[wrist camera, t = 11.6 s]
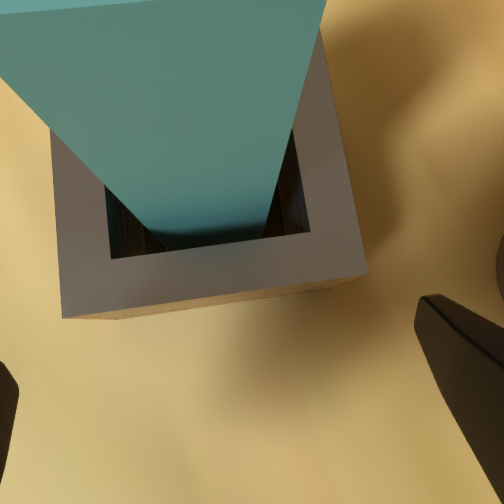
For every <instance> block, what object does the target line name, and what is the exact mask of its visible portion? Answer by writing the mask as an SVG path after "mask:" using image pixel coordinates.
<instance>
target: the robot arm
mask: <svg viewBox="0 0 504 504" xmlns="http://www.w3.org/2000/svg"><path fill="white" fill-rule="evenodd" d="M414 329H415V333H416V335H417V338H418V340H419V343H420V345H421V347H422V350H423V352H424V354H425V357H426V359H427V362H428V364H429V366H430V369H431V371H432V373H433V376H434V378H435V381H436V383H437V385H438V387H439V390H440V392H441V394H442V396H443V398H444V400H445V402H446V404H447V406H448V407H449V409H450V411H451V413H452V415H453V416H454V418H455V420H456V422H457V424H458V425H459V427H460V429H461V431H462V433H463V435H464V436H465V438H466V440H467V442H468V444H469V445H470V447H471V449H472V451H473V453H474V454H475V456H476V458H477V460H478V462H479V463H480V465H481V467H482V469H483V471H484V472H485V474H486V476H487V478H488V480H489V481H490V483H491V485H492V487H493V489H494V490H495V492H496V494H497V496H498V498H499V500H500V501H501V503H502V504H504V328H502V327H500V326H498V325H496V324H495V323H493V322H491V321H489V320H487V319H485V318H484V317H482V316H480V315H478V314H476V313H474V312H473V311H471V310H469V309H467V308H465V307H464V306H462V305H460V304H458V303H456V302H454V301H453V300H451V299H449V298H447V297H445V296H443V295H441V294H431V295H425V296H422V297H420V299H419V301H418V306H417V310H416V315H415V320H414ZM18 399H19V387H18V384H17V382H16V381H15V379H14V378H13V376H12V375H11V373H10V372H9V370H8V369H7V367H6V366H5V364H4V363H3V362H1V361H0V483H1V480H2V476H3V473H4V469H5V465H6V460H7V456H8V451H9V446H10V440H11V435H12V430H13V425H14V419H15V414H16V409H17V404H18Z"/></svg>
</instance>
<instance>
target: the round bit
mask: <svg viewBox="0 0 504 504" xmlns="http://www.w3.org/2000/svg"><path fill="white" fill-rule="evenodd" d="M496 272H497V281H498V285H499V289H500V292H501V295H502V298H503V300H504V236H503V238H502V240H501V243H500V246H499V249H498V254H497V260H496Z"/></svg>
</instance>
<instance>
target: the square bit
mask: <svg viewBox="0 0 504 504" xmlns="http://www.w3.org/2000/svg"><path fill="white" fill-rule="evenodd" d="M326 1H327V0H0V77H1V78H2V79H3V80H4V81H5V82H6V83H7V84H8V85H9V86H10V87H11V89H12V90H13V91H14V92H15V93H16V94H17V95H18V96H19V97H20V98H21V99H22V100H23V101H24V102H25V103H26V104H27V105H28V106H29V107H30V108H31V109H32V110H33V111H34V112H35V113H36V114H37V115H38V116H39V117H40V118H41V119H42V120H43V122H44V123H45V124H46V125H47V126H48V127H49V128H50V129H51V130H52V131H53V132H54V133H55V134H56V135H57V136H58V137H59V138H60V139H61V140H62V141H63V142H64V143H65V144H66V145H67V146H68V147H69V148H70V149H71V150H72V151H73V152H74V153H75V155H76V156H77V157H78V158H79V159H80V160H81V161H82V162H83V163H84V164H85V165H86V166H87V167H88V168H89V169H90V170H91V171H92V172H93V173H94V174H95V175H96V176H97V177H98V178H99V179H100V180H101V181H102V182H103V183H104V184H105V185H106V187H107V188H108V189H109V190H110V191H111V192H112V193H113V194H114V195H115V196H116V197H117V198H118V199H119V200H120V201H121V202H122V203H123V204H124V205H125V206H126V207H127V208H128V209H129V210H130V211H131V212H132V213H133V214H134V215H135V216H136V217H137V218H138V220H139V221H140V222H141V223H142V224H143V225H144V226H145V227H146V228H147V229H148V230H149V231H150V232H151V233H152V234H153V235H154V236H155V237H156V238H157V239H158V240H159V241H160V242H161V243H162V244H163V245H164V246H165V247H166V248H167V249H168V250H175V249H183V248H190V247H198V246H206V245H214V244H222V243H230V242H238V241H245V240H253V239H261V238H262V235H263V231H264V227H265V224H266V220H267V216H268V213H269V209H270V205H271V202H272V198H273V194H274V191H275V187H276V183H277V180H278V176H279V172H280V169H281V165H282V162H283V158H284V154H285V151H286V147H287V143H288V140H289V136H290V132H291V129H292V125H293V121H294V118H295V114H296V110H297V107H298V103H299V99H300V96H301V92H302V88H303V85H304V81H305V77H306V74H307V70H308V66H309V63H310V59H311V55H312V52H313V48H314V45H315V41H316V37H317V34H318V30H319V26H320V23H321V19H322V15H323V12H324V8H325V4H326Z"/></svg>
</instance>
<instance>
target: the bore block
mask: <svg viewBox="0 0 504 504" xmlns="http://www.w3.org/2000/svg"><path fill="white" fill-rule="evenodd" d="M50 139H51V154H52V169H53V185H54V200H55V216H56V231H57V246H58V262H59V277H60V293H61V308H62V318H65V319H106V320H117V319H124V318H131V317H138V316H144V315H151V314H158V313H165V312H172V311H178V310H185V309H192V308H199V307H206V306H212V305H219V304H226V303H233V302H240V301H246V300H253V299H260V298H267V297H274V296H280V295H287V294H294V293H301V292H308V291H314V290H321V289H328V288H332V287H335V286H337V285H340V284H343V283H345V282H348V281H351V280H353V279H356V278H359V277H361V276H364V275H367V274H369V273H368V268H367V263H366V258H365V253H364V248H363V243H362V238H361V233H360V228H359V223H358V218H357V213H356V207H355V202H354V197H353V192H352V187H351V182H350V177H349V172H348V167H347V162H346V157H345V152H344V147H343V142H342V137H341V132H340V127H339V122H338V117H337V112H336V107H335V102H334V97H333V92H332V87H331V82H330V77H329V72H328V67H327V62H326V57H325V52H324V47H323V42H322V37H321V32H320V27H319V30H318V34H317V37H316V41H315V45H314V48H313V52H312V55H311V59H310V63H309V66H308V70H307V74H306V77H305V81H304V85H303V88H302V92H301V96H300V99H299V103H298V107H297V110H296V114H295V118H294V121H293V125H292V129H291V132H290V136H289V140H288V143H287V147H286V151H285V154H284V158H283V162H282V165H281V169H280V172H279V176H278V180H277V185H278V191H279V197H280V203H281V209H282V215H283V221H284V227H285V233H286V236H278V237H271V238H264V239H257V240H249V241H242V242H235V243H228V244H220V245H213V246H206V247H199V248H192V249H184V250H177V251H170V252H163V253H155V254H148V255H146V247H145V237H144V228H143V224H142V223H141V222H140V221H139V220H138V218H137V217H136V216H135V215H134V214H133V213H132V212H131V211H130V210H129V209H128V208H127V207H126V206H125V205H124V204H123V203H122V202H121V201H120V200H119V199H118V198H117V197H116V196H115V195H114V194H113V193H112V192H111V191H110V190H109V189H108V188H107V187H106V185H105V184H104V183H103V182H102V181H101V180H100V179H99V178H98V177H97V176H96V175H95V174H94V173H93V172H92V171H91V170H90V169H89V168H88V167H87V166H86V165H85V164H84V163H83V162H82V161H81V160H80V159H79V158H78V157H77V156H76V155H75V153H74V152H73V151H72V150H71V149H70V148H69V147H68V146H67V145H66V144H65V143H64V142H63V141H62V140H61V139H60V138H59V137H58V136H57V135H56V134H55V133H54V132H53V131H52V130H51V129H50Z"/></svg>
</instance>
